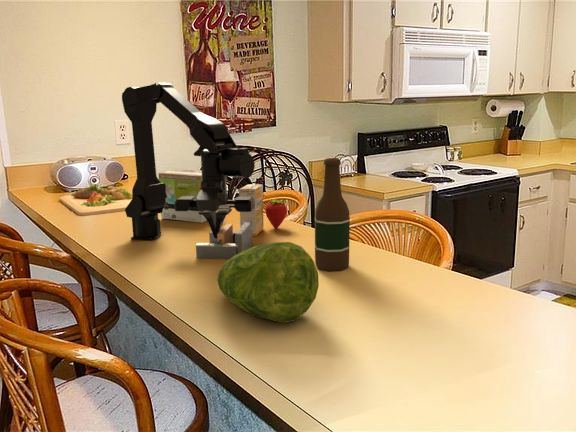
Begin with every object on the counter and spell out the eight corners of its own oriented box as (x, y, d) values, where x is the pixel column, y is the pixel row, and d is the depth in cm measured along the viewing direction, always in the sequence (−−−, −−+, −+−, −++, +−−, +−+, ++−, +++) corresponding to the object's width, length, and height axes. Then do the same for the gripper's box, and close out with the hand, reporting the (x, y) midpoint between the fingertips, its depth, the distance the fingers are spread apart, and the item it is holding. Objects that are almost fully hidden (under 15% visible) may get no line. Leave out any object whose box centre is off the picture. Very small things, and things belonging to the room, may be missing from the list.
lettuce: (253, 307, 111) (251, 241, 111) (332, 319, 92) (330, 240, 93) (191, 315, 102) (189, 244, 102) (265, 330, 84) (262, 243, 84)
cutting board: (151, 209, 188) (149, 187, 187) (80, 218, 176) (78, 195, 174) (121, 194, 217) (119, 175, 215) (58, 201, 205) (56, 181, 203)
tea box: (160, 219, 170) (156, 172, 166) (178, 213, 179) (175, 168, 176) (202, 223, 164) (199, 174, 161) (218, 216, 173) (216, 170, 170)
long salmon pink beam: (215, 257, 128) (214, 236, 127) (227, 242, 140) (226, 223, 139) (222, 257, 128) (221, 236, 127) (233, 243, 140) (232, 224, 139)
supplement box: (257, 236, 148) (255, 188, 145) (240, 236, 149) (238, 188, 146) (264, 229, 156) (263, 183, 153) (248, 228, 157) (246, 183, 154)
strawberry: (279, 224, 161) (278, 191, 159) (291, 229, 155) (291, 195, 153) (261, 227, 159) (260, 193, 156) (272, 232, 152) (272, 197, 150)
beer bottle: (326, 274, 117) (326, 161, 111) (308, 264, 123) (307, 158, 118) (356, 268, 120) (357, 159, 115) (337, 259, 127) (337, 155, 122)
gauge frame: (196, 258, 129) (195, 233, 128) (211, 242, 143) (210, 220, 141) (242, 259, 128) (241, 234, 127) (252, 243, 142) (252, 220, 140)
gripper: (165, 180, 125) (169, 246, 128) (245, 180, 123) (247, 247, 126) (180, 173, 136) (183, 234, 139) (254, 173, 133) (256, 235, 137)
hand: (216, 238), depth 135 cm, fingers closed
